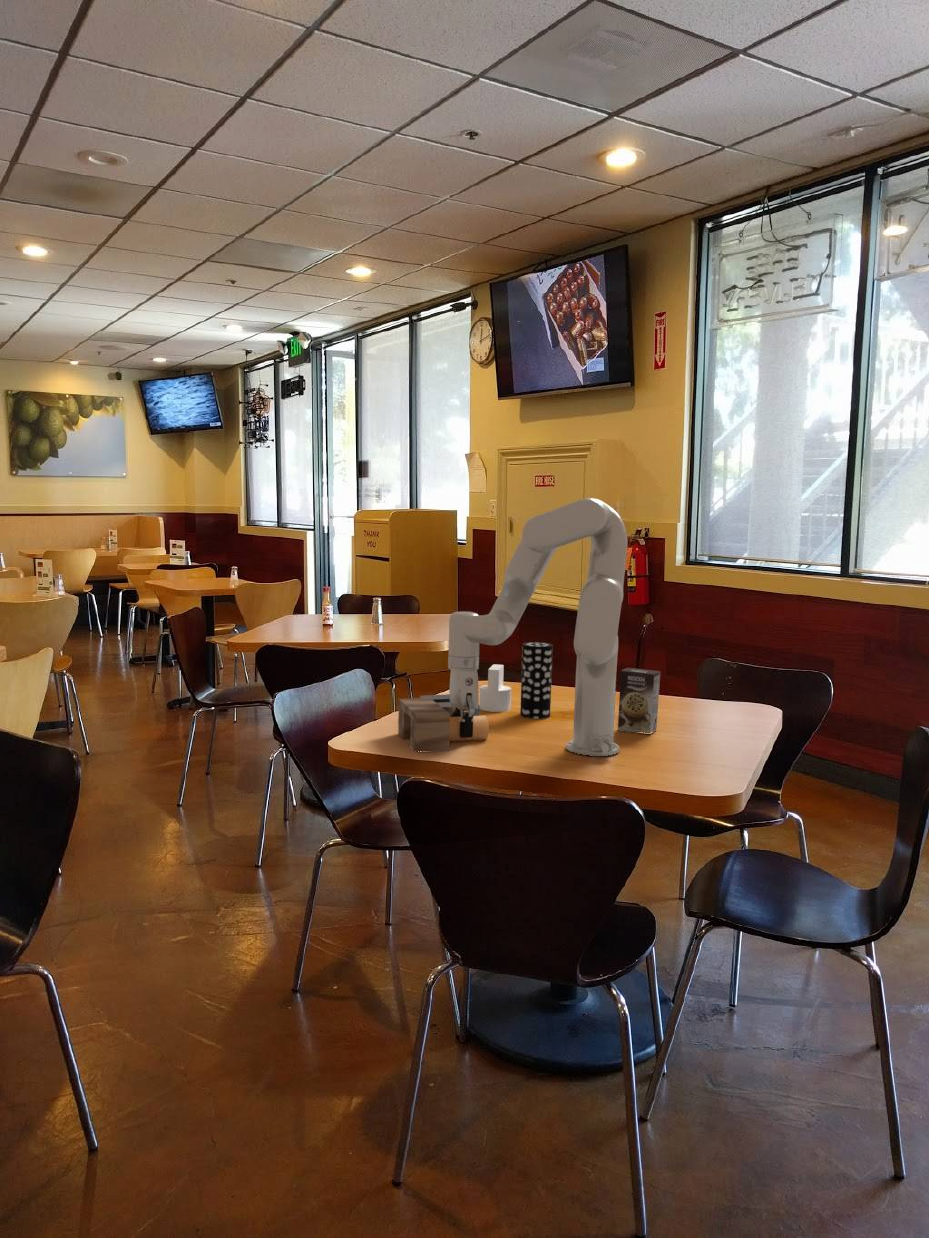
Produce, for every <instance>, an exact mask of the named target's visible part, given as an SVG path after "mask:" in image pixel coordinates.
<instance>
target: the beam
mask: <svg viewBox="0 0 929 1238" xmlns="http://www.w3.org/2000/svg"><path fill="white" fill-rule="evenodd" d="M397 722H398V727H397V728H398V730H397V731H398V733H397V734H398V736H400V737H401V738H402V740H409V742H410V743H409V745H410V746H411V747H412V748H411V747H410V748H411V749H412V750H413V751H414V752H415V751H416V752H418V751H419V752H418V753H424V752H423V751H435V752H447V751H450V742H449V723H450V713H449V712H447V711H446V710H445V709H443V708H442V707H441V706H440V705H438V704H437V703H436V702H435V701H433V700H432V699H431V698H420V697H411V698H398V721H397ZM420 751H422V752H420ZM416 752H415V753H416Z"/></svg>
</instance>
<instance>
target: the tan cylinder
mask: <svg viewBox="0 0 929 1238" xmlns="http://www.w3.org/2000/svg"><path fill="white" fill-rule="evenodd" d="M473 719H474V720H473V737H469V738H461V737H460V721H461V717H450V723H449V741H451V742H466V741H467V740H468V741H482V740H483V741H484V740H485V739H486V740H487V739H488V738H489V734H490V731H489V730H490V727H489V721H488V718H487V716H486V715H479V716H473Z"/></svg>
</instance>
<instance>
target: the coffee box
mask: <svg viewBox="0 0 929 1238" xmlns="http://www.w3.org/2000/svg"><path fill="white" fill-rule="evenodd" d="M660 681H661V671H659V670H651V669H643V668H635V667H627V668H623V669H621V670H620V683H619V697H618V698H619V699H618V700H619V702H618V715H617V716H618V717H617V718H618V720H617V731H618V730H619V731H620V732H624V731H625V733H631V732H643V733H644V732H645V733H651V732H654V731H655V730H656V729H657V730H658V713H659V711H658V710H659V696H660V695H659V694H660ZM619 731H618V732H619ZM654 733H655V732H654Z"/></svg>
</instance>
